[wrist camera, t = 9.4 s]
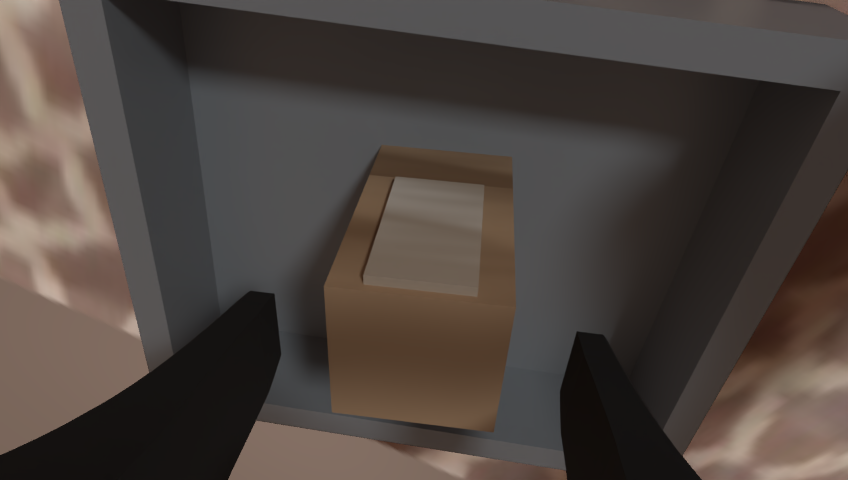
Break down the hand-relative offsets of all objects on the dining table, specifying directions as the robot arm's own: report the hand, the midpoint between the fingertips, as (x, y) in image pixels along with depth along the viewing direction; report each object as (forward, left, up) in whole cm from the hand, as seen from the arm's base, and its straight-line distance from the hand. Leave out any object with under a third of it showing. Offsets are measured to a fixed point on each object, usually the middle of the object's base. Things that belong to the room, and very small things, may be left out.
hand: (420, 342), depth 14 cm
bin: (0, 0, -7) cm, 7 cm away
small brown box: (0, 0, -6) cm, 6 cm away
